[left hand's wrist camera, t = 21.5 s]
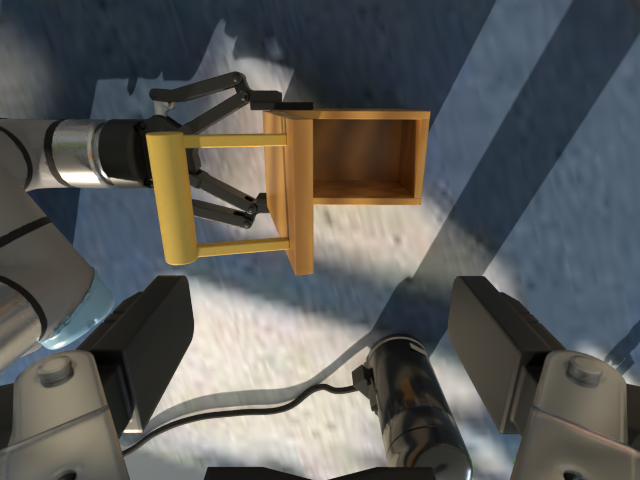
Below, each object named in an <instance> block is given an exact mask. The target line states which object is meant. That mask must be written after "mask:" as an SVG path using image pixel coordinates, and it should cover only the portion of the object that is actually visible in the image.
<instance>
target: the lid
mask: <svg viewBox="0 0 640 480" xmlns="http://www.w3.org/2000/svg"><path fill="white" fill-rule="evenodd" d="M263 130H264V134H210V135H184V134H183V133H182V132H151V133H147V134H146V139H147V146H148V152H149V158H150V165H151V171H152V177H153V184H154V190H155V196H156V203H157V209H158V215H159V222H160V228H161V234H162V241H163V247H164V253H165V260H166V262H167V263H168V264H172V265H183V264H188V263H191V262H194V261H195V260H197V259H198V257H204V256H215V255H227V254H238V253H250V252H261V251H273V250H284V249H285V251H286V253H287V256H288V258H289V260H290V263H291V265H292V268H293V270H294V273H295V275H303V274H313V119H310V118H306V117H301V116H297V115H292V114H288V113H283V112H278V111H263ZM257 146H264V151H265V171H266V192H267V207H268V209H269V212H270V214H271V217H272V219H273V221H274V224H275V226H276V229H277V231H278V234H279V236H280V238H268V239H255V240H242V241H230V242H217V243H205V244H197V239H196V231H195V223H194V215H193V207H192V199H191V191H190V182H189V174H188V166H187V158H186V150H185V148H214V147H257Z"/></svg>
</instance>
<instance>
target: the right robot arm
mask: <svg viewBox="0 0 640 480" xmlns="http://www.w3.org/2000/svg"><path fill="white" fill-rule="evenodd" d="M234 87H235V90H236V92H237V94H235V95H233V96H232V97H230V98H228V99H227V100H225V101H224V102H222V103H220V104H219V105H217V106H215V107H214V108H212V109H210V110H209V111H207V112H206V113H204V114H202V115H201V116H199V117H197V118H196V119H194V120H192V121H190V122H188V123H186V124H185V125H183V126H182V125H180V124H179V123H177V122H176V121H175V120H173V119H172V118H170V117H169V116H167V114H168V112H169V111H170V110H173V109H175V108H176V106H177V102H185V101H189V100H192V99H196V98H199V97H203V96H206V95H210V94H213V93H216V92H220V91H223V90H227V89H230V88H234ZM149 95H150V98H151V99H152V100H154V106H155V115H154V116H152V117H151V118H149V119H112V120H109V121H107V120H105V119H67V120H38V119H8V118H0V373H2V372H3V371H4V370H5V369H7V368H8V367H9V366H10V365H11V364H13V363H14V362H15V361H16V360H17V359H19V358H20V357H22V356H24V355H27V354H29V353H31V352H34V351H36V350H37V349H39V348H41V347H42V346H45V347H46V348H48V349H59V348H61V347H63V346H66V345H67V344H69V343H71V342H73V341H74V340H76V339H77V338H79V337H80V336H82V335H83V334H85V333H86V332H87V331H89V330H90V329H91V328H92V327H93V326H94V325H96V324H97V323H99V322H100V321H101V320H102V319H103V318H104V317H105V316H106V315H107V314H108V313H109V312H110V311H111V309H112V308H113V306H114V302H115V300H114V296H113V294H112V293H111V291H110V290H109V289H108V287H107V286H106V285H105V283H104V282H103V280H102V279H101V278H100V276H99V275H98V273H97V271H96V270H95V269H94V268H93V267H91V266H90V265H89V264H88V263H87V262H86V260H85V259H84V258H83V257H82V256H81V255H80V254H79V253H78V251H77V250H76V249H75V248H74V247H73V246H72V245H71V244H70V242H69V241H68V240H67V239H66V238H65V237H64V236H63V234H62V233H61V232H60V231H59V230H58V229H57V228H56V227H55V225H54V224H53V223H52V222H51V221H50V219H49V218H48V217H47V216H46V214H45V213H44V212H43V211H42V210H41V209H40V207H39V206H38V205H37V204H36V203H35V202H34V200H33V199H32V198H31V197H30V196H29V195H28V193H27V191H30V190H33V189H39V188H64V187H71V188H114V187H116V186H117V187H119V188H154V184H153V177H152V171H151V165H150V158H149V152H148V146H147V139H146V134H147V133H151V132H182V133H183V134H184V135H197V134H199V133H201V132H202V131H204V130H205V129H207V128H208V127H210V126H212V125H213V124H215V123H217V122H218V121H220V120H222V119H223V118H225V117H227V116H228V115H230V114H232V113H233V112H235V111H237V110H238V109H240V108H242V107H243V106H245V105H247V104H248V103H250V107H251V110H313V102H282V93H281V92H279V91H253V90H252V89H250V88H249V86H248V83H247V81H246V77H245V75H244V74H242V73H240V72H231V73H228V74H224V75H221V76H217V77H214V78H211V79H207V80H204V81H200V82H197V83H194V84H190V85H187V86H183V87H180V88H177V89H173V90H167V89H151V90H150V92H149ZM185 150H186V158H187V166H188V174H189V182H190V186H192V187H194V188H198V189H201V190H203V191H205V192H207V193H209V194H211V195H213V196H215V197H217V198H219V199H221V200H223V201H225V202H227V203H229V204H231V205H233V206H235V207H237V208H239V209H241V210H243V211H245V212H243V211H239V210H236V209H232V208H228V207H224V206H220V205H216V204H212V203H208V202H204V201H200V200H193V199H192V207H193V215H194V216H196V217H200V218H204V219H208V220H212V221H216V222H220V223H224V224H228V225H232V226H236V227H240V228H245V229H249V228H250V227H251V226H252V224H253V222H254V220H255V217H256V214H258V213H270V212H269V209H268V207H267V193H259V195H258V196H257V198H256V199H255V198H253V197H251V196H249V195H247V194H245V193H243V192H241V191H239V190H237V189H235V188H233V187H231V186H229V185H227V184H226V183H224V182H222V181H220V180H218V179H216V178H214V177H212V176H210V175H209V174H208V173H207V172H205V171H203V170H201V169H199V168H200V167H201V162H200V158H199V155H198V148H185Z"/></svg>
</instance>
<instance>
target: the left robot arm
mask: <svg viewBox="0 0 640 480" xmlns="http://www.w3.org/2000/svg"><path fill="white" fill-rule="evenodd" d="M193 333H194V318H193V311H192V304H191V297H190V290H189V283H188V280H187V278H186V276H157V277H156V278H155V279H154V280H153V282H152V283H151V284H150V285H149V286H148V287H147V288H146V289H145V290H144V291H143V292H138V293H136V294H134V295H133V296H131V297H129V298H127V299H126V300H124V301H123V302H122V303H121V304H120V305H119V306H118V307H117V308H116V309H115V310H114V311H113V314H110V315H109V316H108V317H107V318H106V319H105V320H104V323H101V324H100V325H99V326H98V327H97V328H96V329H95V330H94V331H93V332H92V333H91V334H90V335H89V336H88V337H87V338H86V339H85V340H84V341H83V342H82V344H81V345H80V346H79V347H78V348H77V349H76V350H69V351H63V352H59V353H55V354H52V355H50V356H47V357H45V358H42V359H40V360H38V361H36V362H35V363H33V364H31V365H30V366H28V367H27V368H26V369H24V370H23V371H22V372H21V373H20V374H19V375H18V377H17V378H16V380H15V382H14V383H12V384H7V385H2V386H0V480H130V478H129V474H128V471H127V467H126V464H125V460H124V457H125V456H127V455H129V454H131V453H133V452H134V451H136V450H137V449H138V448H140V447H141V446H142V445H144V444H145V443H146V442H147V441H149V440H150V439H152V438H153V437H155V436H157V435H159V434H161V433H163V432H165V431H167V430H170V429H172V428H175V427H177V426H180V425H184V424H187V423H191V422H195V421H199V420H205V419H211V418H221V417H232V416H243V415H269V414H277V413H281V412H285V411H288V410H290V409H292V408H294V407H295V406H297V405H298V404H300V403H301V402H302V401H303V400H304V399H306V398H307V397H308V396H309V395H311V394H312V393H314V392H316V391H319V390H326V391H328V392H330V393H333V394H345V393H351V392H355V391H360V392H361V393H362V394H363V395H365V396H366V397H367V398H368V399H369V400H370V406H371V410H372V411H373V412H374V413H375V414H376V415H377V416H378V417H379V421H380V427H381V432H382V438H383V443H384V448H385V453H386V459H387V464H388V467H375V468H371V469H368V470H364V471H360V472H356V473H352V474H348V475H344V476H341V477H337V478H333V479H329V480H472V476H473V466H472V461H471V458H470V455H469V453H468V451H467V448H466V446H465V444H464V441H463V439H462V436H461V434H460V431H459V429H458V427H457V424H456V422H455V420H454V417H453V415H452V413H451V410H450V408H449V405H448V403H447V401H446V398H445V396H444V394H443V391H442V389H441V386H440V384H439V382H438V379H437V377H436V375H435V372H434V370H433V367H432V365H431V363H430V360H429V356H428V354H427V352H426V349H425V347H424V346H423V344H422V343H421V342H420V341H418V340H417V339H415V338H413V337H411V336H407V335H392V336H388V337H386V338H383V339H382V340H380V341H379V342H377V343H376V344H375V345H374V346H373V347H372V349H371V351H370V353H369V356H368V360H367V361H366V362H365V363H364V366H363V365H360V366H359V367H358V368H356V369H355V370H354V371H352V378H353V385H352V386H348V387H342V388H335V387H332V386H330V385H327V384H318V385H315V386H312V387H310V388H309V389H307V390H306V391H305V392H303V393H302V394H301V395H300V396H299V397H297V398H296V399H295V400H294V401H292V402H290V403H289V404H286V405H284V406H280V407H276V408H267V409H241V410H231V411H220V412H210V413H204V414H199V415H194V416H190V417H186V418H183V419H180V420H177V421H174V422H171V423H169V424H167V425H164V426H162V427H160V428H158V429H156V430H154V431H152V432H151V433H149V434H148V435H146V436H145V437H144V438H142V439H141V440H140V441H139V442H137V443H136V444H135V445H133V446H132V447H130V448H128V449H126V450H124V451H122V450H121V447H120V443H119V438H120V437H121V435H122V433H143V431H144V429H145V427H146V425H147V424H148V422H149V420H150V418H151V416H152V414H153V412H154V410H155V409H156V407H157V405H158V403H159V401H160V399H161V397H162V395H163V394H164V392H165V390H166V388H167V386H168V384H169V382H170V380H171V379H172V377H173V375H174V373H175V371H176V369H177V367H178V365H179V364H180V362H181V360H182V358H183V356H184V354H185V352H186V350H187V349H188V347H189V345H190V343H191V341H192V338H193ZM448 334H449V338H450V341H451V344H452V346H453V347H454V349H455V351H456V353H457V355H458V357H459V359H460V360H461V362H462V364H463V366H464V368H465V370H466V371H467V373H468V375H469V377H470V379H471V381H472V383H473V384H474V386H475V388H476V390H477V392H478V394H479V396H480V397H481V399H482V401H483V403H484V405H485V407H486V409H487V410H488V412H489V414H490V416H491V418H492V420H493V422H494V423H495V425H496V427H497V429H498V431H499V433H500V434H520V435H521V436H522V440H521V443H520V447H519V450H518V453H517V457H516V460H515V464H514V467H513V471H512V474H511V478H510V480H640V386H635V385H630V384H626V382H625V380H624V378H623V377H622V375H621V374H620V373H619V372H618V371H617V370H616V369H614V368H613V367H612V366H610V365H609V364H607V363H605V362H604V361H602V360H600V359H598V358H595V357H593V356H590V355H588V354H585V353H581V352H577V351H571V350H567V349H566V348H565V347H564V346H563V345H562V344H561V343H560V342H559V341H558V340H557V339H556V338H555V337H554V336H553V335H552V334H551V333H550V332H549V331H548V330H547V329H546V328H545V327H544V326H543V325H542V324H541V323H539V322H538V320H537V319H536V318H535V317H534V316H533V315H532V314H530V312H529V311H528V310H527V309H526V308H525V307H524V306H523V305H522V304H521V303H520V302H519V301H517V300H516V299H514V298H512V297H510V296H509V295H507V294H505V293H503V292H499V291H498V290H497V289H496V288H495V287H494V286H493V285H492V284H491V283H490V282H489V281H488V280H487V279H486V278H485V277H484V276H457V277H456V278H455V280H454V284H453V290H452V297H451V304H450V311H449V318H448ZM204 480H311V479H307V478H303V477H299V476H296V475H292V474H288V473H284V472H280V471H276V470H272V469H269V468H265V467H208V468H207V471H206V475H205V478H204Z"/></svg>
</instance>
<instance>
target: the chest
mask: <svg viewBox="0 0 640 480" xmlns="http://www.w3.org/2000/svg"><path fill="white" fill-rule="evenodd" d="M270 111H278V112H283V113H288V114H292V115H297V116H301V117H306V118H310V119H313V204H317V205H421V197H422V188H423V178H424V169H425V159H426V149H427V140H428V130H429V121H430V120H429V119H430V111H424V110H414V109H348V108H313V110H270Z"/></svg>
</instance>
